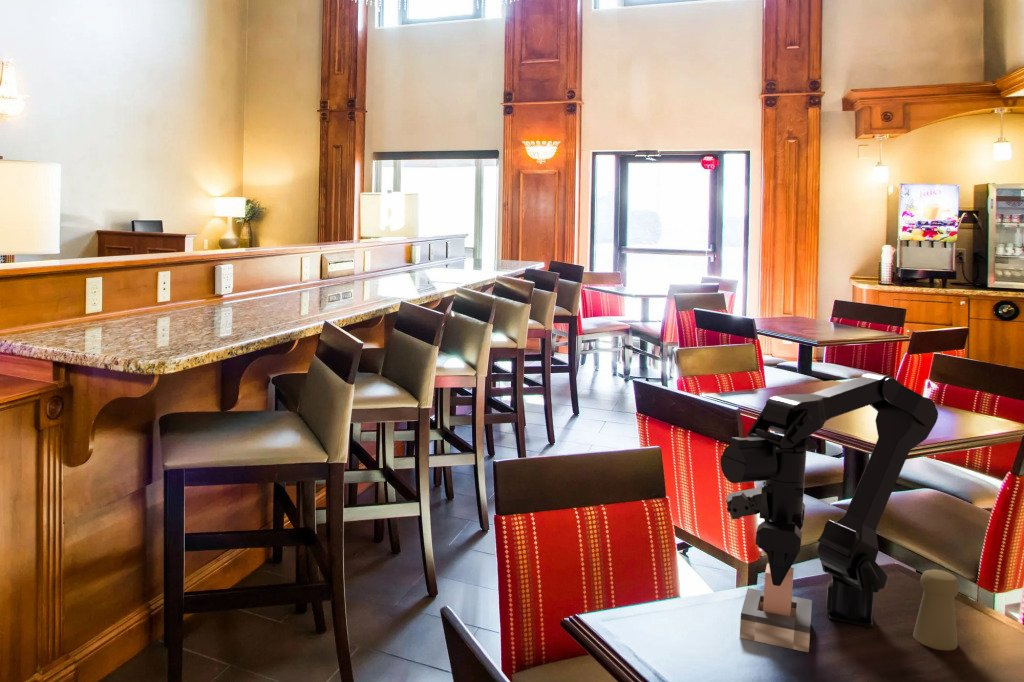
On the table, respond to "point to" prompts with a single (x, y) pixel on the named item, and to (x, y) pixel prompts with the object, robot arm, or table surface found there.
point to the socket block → (776, 622)
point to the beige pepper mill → (937, 611)
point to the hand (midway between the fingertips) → (778, 574)
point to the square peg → (778, 594)
